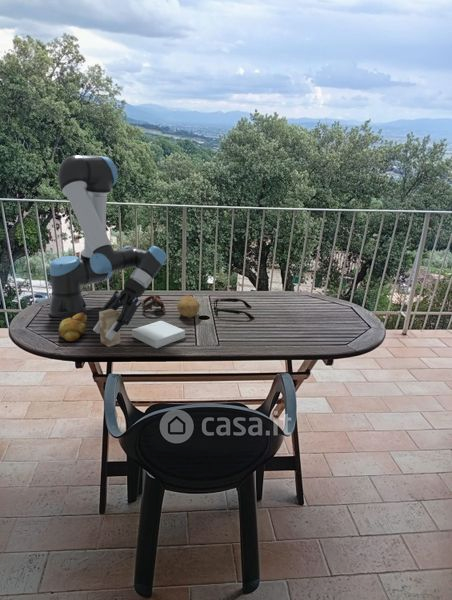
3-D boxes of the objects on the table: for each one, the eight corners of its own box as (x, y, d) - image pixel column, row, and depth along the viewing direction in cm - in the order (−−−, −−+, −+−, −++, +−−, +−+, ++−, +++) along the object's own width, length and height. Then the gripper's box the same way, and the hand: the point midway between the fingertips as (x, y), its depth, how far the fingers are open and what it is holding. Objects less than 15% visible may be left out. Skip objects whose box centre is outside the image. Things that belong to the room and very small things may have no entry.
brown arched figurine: (165, 316, 183) (155, 302, 180) (146, 323, 186) (136, 309, 182) (169, 301, 193) (160, 287, 190) (152, 308, 196) (142, 294, 192)
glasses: (213, 308, 198) (213, 298, 197) (251, 307, 199) (251, 297, 198) (213, 321, 183) (213, 310, 181) (254, 320, 183) (255, 309, 182)
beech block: (100, 342, 154) (99, 311, 151) (112, 338, 158) (111, 308, 154) (108, 346, 151) (107, 315, 148) (120, 342, 155) (119, 312, 151)
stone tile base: (132, 336, 160) (132, 329, 160) (161, 327, 171) (161, 320, 170) (156, 348, 152) (156, 340, 151) (184, 337, 162) (184, 330, 161)
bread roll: (80, 343, 153) (79, 323, 150) (53, 343, 152) (51, 322, 150) (89, 330, 165) (88, 310, 163) (63, 329, 164) (62, 310, 162)
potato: (176, 322, 177) (176, 303, 174) (177, 310, 190) (177, 293, 188) (199, 322, 178) (200, 304, 175) (199, 310, 191) (199, 293, 188)
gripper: (160, 295, 154) (124, 348, 147) (127, 283, 166) (93, 331, 160) (148, 283, 148) (111, 338, 142) (115, 272, 161) (79, 322, 154)
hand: (101, 335), depth 151 cm, fingers open, 7 cm apart
